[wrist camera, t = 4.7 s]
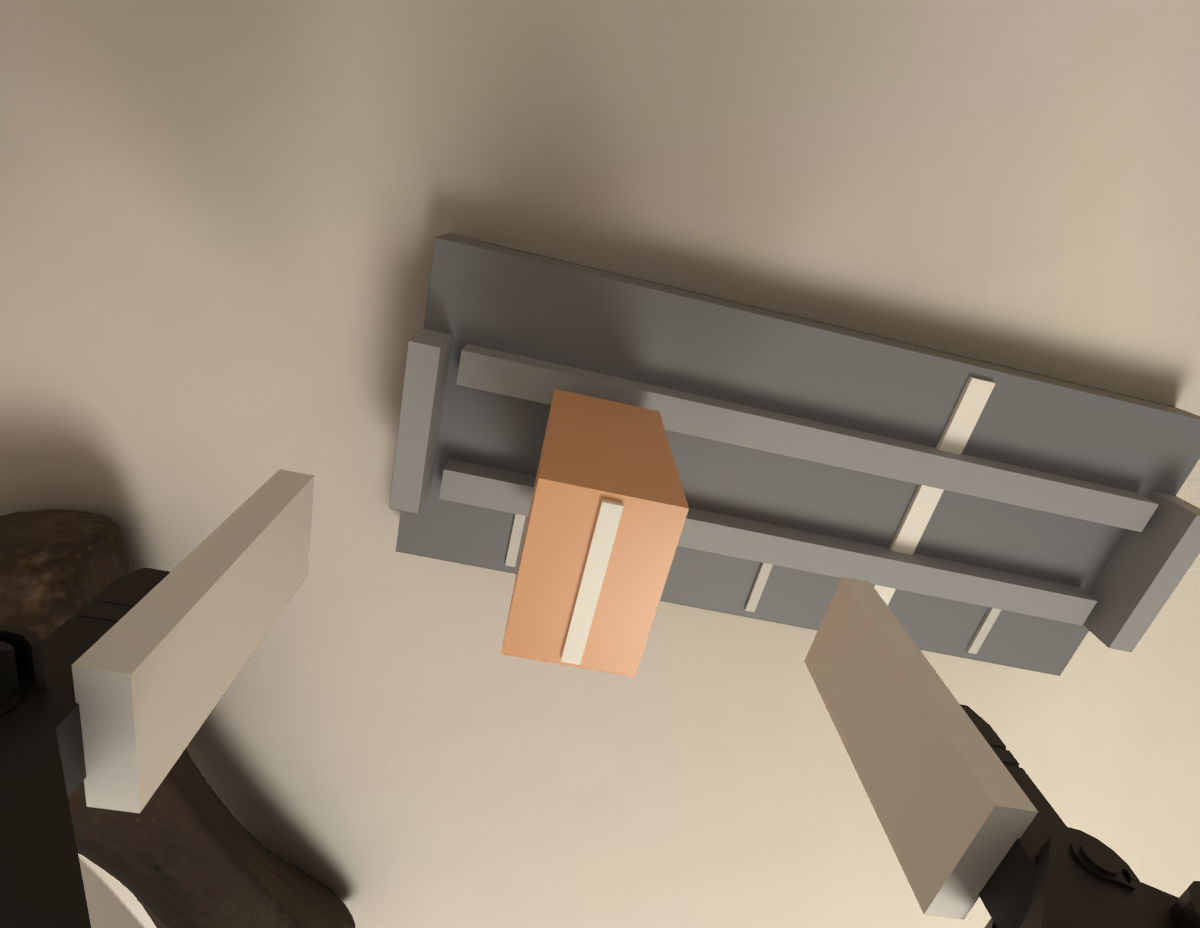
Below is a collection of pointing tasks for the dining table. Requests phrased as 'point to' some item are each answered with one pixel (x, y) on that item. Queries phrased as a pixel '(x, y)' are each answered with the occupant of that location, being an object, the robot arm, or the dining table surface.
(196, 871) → the dark brown bone
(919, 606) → the grey slider track
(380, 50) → the dining table surface
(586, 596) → the fader
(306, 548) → the robot arm
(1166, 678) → the dining table surface
